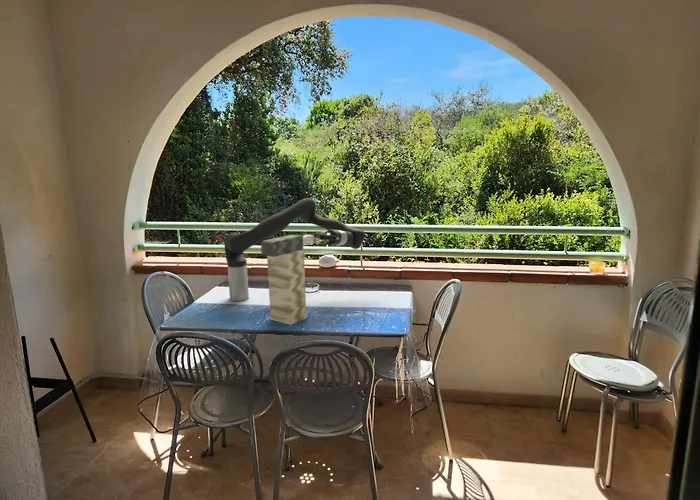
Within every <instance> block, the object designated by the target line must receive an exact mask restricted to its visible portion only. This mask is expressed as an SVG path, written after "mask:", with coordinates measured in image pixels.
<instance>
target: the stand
mask: <svg viewBox="0 0 700 500" xmlns="http://www.w3.org/2000/svg"><path fill="white" fill-rule="evenodd" d="M303 236H304V235H301V234H289V235H284V236H279V237H274V238H270V239H264V240H262V241H260V247H261V249H260V250H261V255H262V256H265V257H266V259H267V276H268V293H269V295H268V297H269V314H270V315H269V316H270V317H269V318H270V320H271V321H276V322H279V323H282V324H286V325H290V326H292V325H293V324H296V323H299V322H300V321H303V320H305V319H307V304H306V303H307V301H306V300H307V299H306V298H307V296H306V293H307V292H306V274H305V273H306V271H305V251H304V246H303Z"/></svg>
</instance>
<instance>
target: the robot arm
mask: <svg viewBox="0 0 700 500" xmlns="http://www.w3.org/2000/svg"><path fill="white" fill-rule="evenodd" d="M316 208H317V204H316V200H314V199H313V198H309V197H306V198H302V199H300V200H299V201H297V202H296V203H293V204H292V205H291V206H289V207H287V208H285V209H283V210H281V211H279V212H277V213H275V214H273V215H271V216H269V217H266V218H264V219H263V220H261V221H260V222H259V223H258V224H257V225H256V226H254V227H253V228H252V229H250V230H247V231H244V232H242V233H237V232H230V233H228V234H227V235H226V237H225V239H224V253H225V260H226V263H227V274H228V275H227V276H228V289H229V301H230V302H242V301H246V300H248V299H249V298H250V297H249V280H248V264H247V259H246V257H245V254H244V252H245V251H247V250H248V249H249V248H251V247H253V246H254V245H256V244H258V243H260V242H262V241H264V240H267V239H268V238H270V237H273V236H274V235H277V234H278V233H280V232H282V231H284V230H285V229H286V228H287V227H288V226H289V225H290V224H291V223H292V222H293V221H294V220H295V219H297V218H300V219H301V220H303V221H305V222H307V223H310V224H313V225H315V226H318V227H320V228H323V229H324V230H327V231H325V232H324V231H323V232H312V231H311V232H307V233H306V235H314V239H315V240H316V241H317V240H318V241H323V242H325V243H326V244H327V245H329V246H347V247H349V248H352V249H353V250H358V249H360V248H361V246H362V244H363V242H364V240H365V238H366V232H365V231H364V230H362V229H359V228H356V227H352V226H349V225H347V224H345V223H343V222H342V221H340V220H338V219H335V218H328V217H323V216H321V215H319V214H318V213H317V211H316Z"/></svg>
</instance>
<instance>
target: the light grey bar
mask: <svg viewBox="0 0 700 500" xmlns="http://www.w3.org/2000/svg"><path fill="white" fill-rule="evenodd" d="M302 236H303V247H305V246H309V245H312V244H315V238H314V235H307V234H305V235H302Z"/></svg>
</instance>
